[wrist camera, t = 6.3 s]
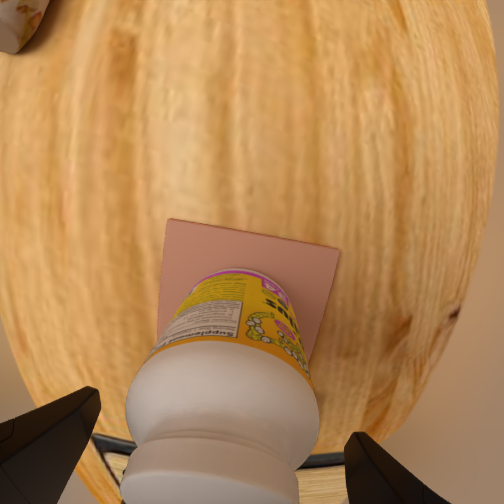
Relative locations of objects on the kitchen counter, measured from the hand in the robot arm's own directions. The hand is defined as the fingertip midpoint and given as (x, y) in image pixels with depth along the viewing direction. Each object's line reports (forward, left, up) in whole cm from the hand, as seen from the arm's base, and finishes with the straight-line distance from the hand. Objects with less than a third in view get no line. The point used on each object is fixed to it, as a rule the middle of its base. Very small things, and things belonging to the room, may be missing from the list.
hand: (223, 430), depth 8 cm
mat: (0, 0, -10) cm, 10 cm away
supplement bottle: (0, 0, -10) cm, 10 cm away
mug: (+22, +22, -10) cm, 33 cm away
